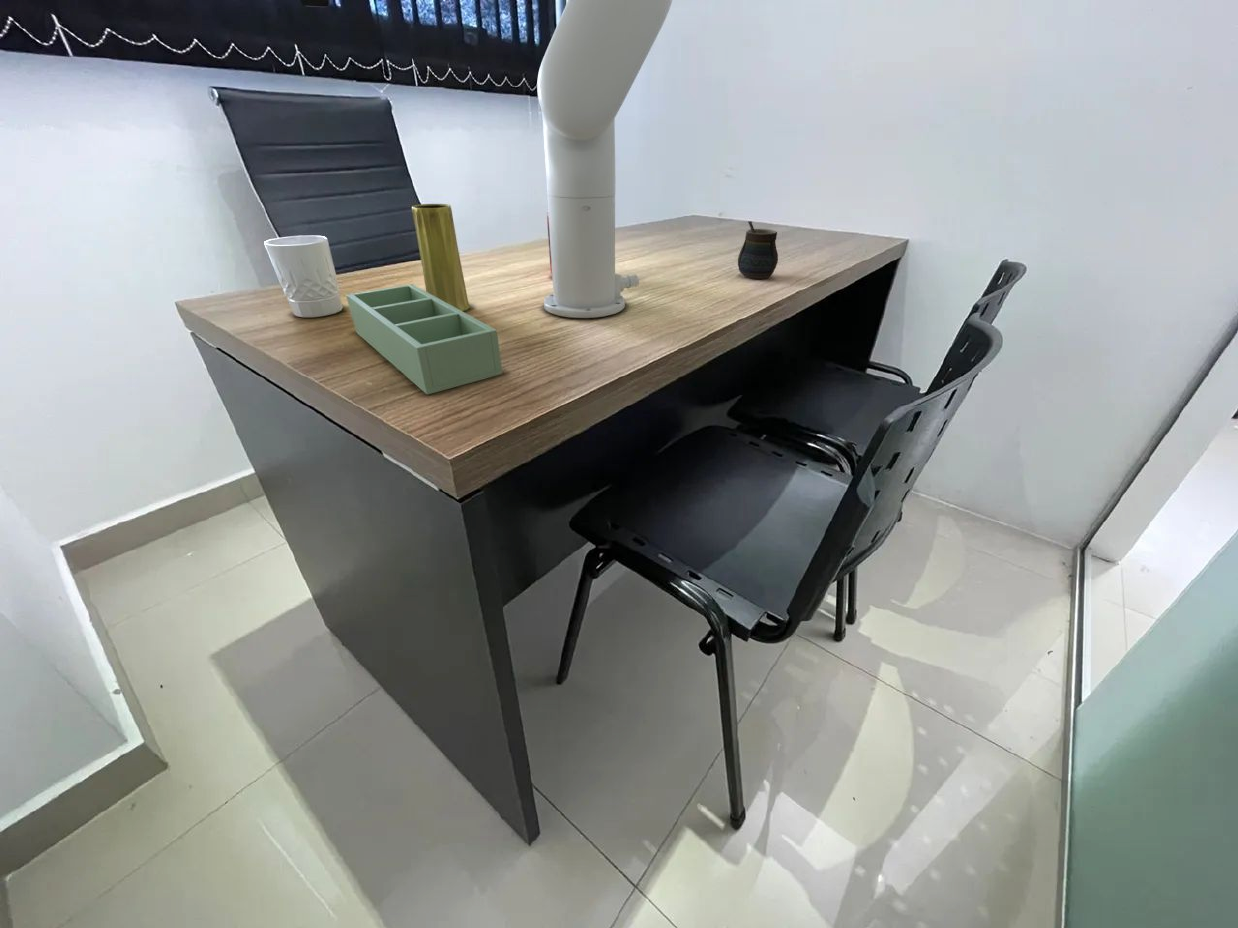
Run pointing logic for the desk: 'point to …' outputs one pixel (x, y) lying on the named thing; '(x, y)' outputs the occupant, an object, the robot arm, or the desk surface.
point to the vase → (440, 254)
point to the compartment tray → (426, 337)
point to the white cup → (306, 274)
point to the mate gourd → (758, 253)
